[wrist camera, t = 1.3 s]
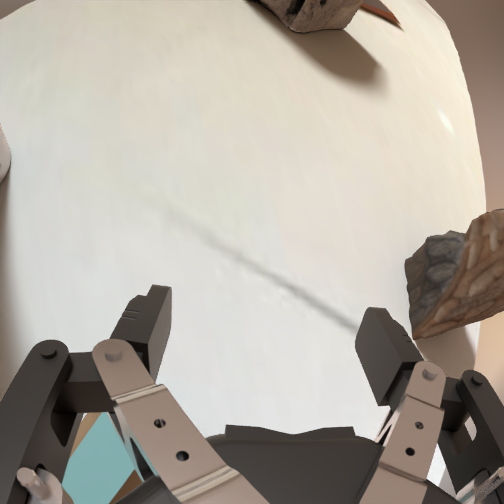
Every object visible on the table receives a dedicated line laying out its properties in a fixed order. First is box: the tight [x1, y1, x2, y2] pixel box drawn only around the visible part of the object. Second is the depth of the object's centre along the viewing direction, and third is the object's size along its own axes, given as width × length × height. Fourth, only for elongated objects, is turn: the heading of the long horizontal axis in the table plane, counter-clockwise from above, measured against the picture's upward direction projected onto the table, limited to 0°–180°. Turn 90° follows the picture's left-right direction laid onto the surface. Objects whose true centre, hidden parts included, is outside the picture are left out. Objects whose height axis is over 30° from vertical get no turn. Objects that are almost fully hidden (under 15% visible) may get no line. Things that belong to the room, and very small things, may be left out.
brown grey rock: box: [405, 209, 504, 340], centre depth 33 cm, size 13×13×20 cm
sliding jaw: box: [62, 412, 135, 504], centre depth 20 cm, size 4×10×3 cm, turn 146°
